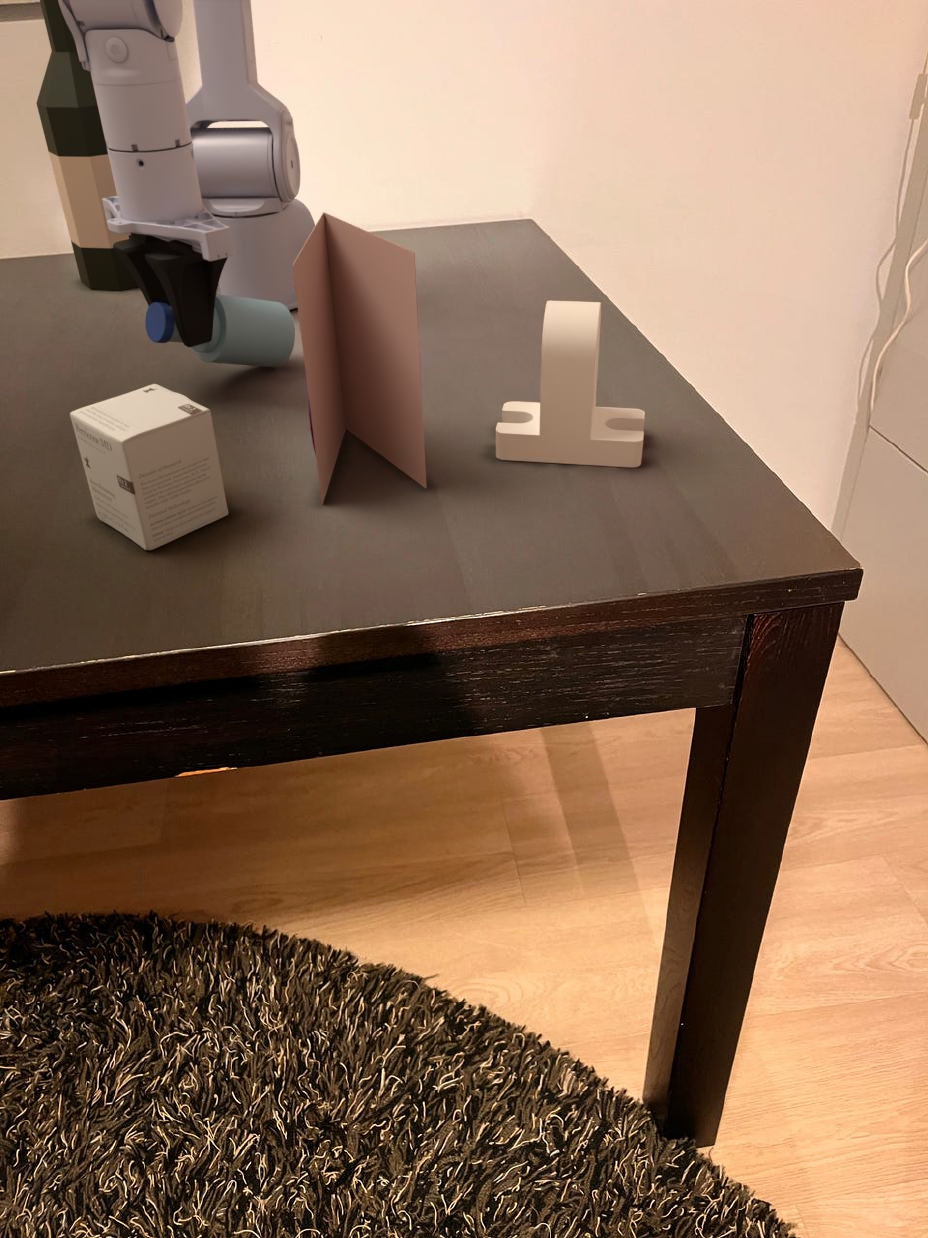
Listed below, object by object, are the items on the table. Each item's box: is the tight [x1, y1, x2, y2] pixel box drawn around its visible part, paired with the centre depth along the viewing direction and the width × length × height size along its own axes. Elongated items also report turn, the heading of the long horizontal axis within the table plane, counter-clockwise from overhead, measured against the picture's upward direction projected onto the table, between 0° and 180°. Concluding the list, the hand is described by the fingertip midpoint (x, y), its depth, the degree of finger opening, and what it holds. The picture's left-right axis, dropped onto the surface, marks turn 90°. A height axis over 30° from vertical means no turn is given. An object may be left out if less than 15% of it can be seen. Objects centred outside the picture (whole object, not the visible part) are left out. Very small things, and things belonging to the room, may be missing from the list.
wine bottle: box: [36, 0, 140, 292], centre depth 94 cm, size 8×8×30 cm
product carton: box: [69, 383, 229, 551], centre depth 59 cm, size 6×6×7 cm
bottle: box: [144, 293, 296, 368], centre depth 77 cm, size 5×5×11 cm
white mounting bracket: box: [495, 300, 646, 468], centre depth 65 cm, size 5×10×10 cm, turn 80°
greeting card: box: [293, 212, 427, 505], centre depth 62 cm, size 11×7×15 cm, turn 178°
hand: (186, 337), depth 75 cm, fingers closed on bottle, 3 cm apart
